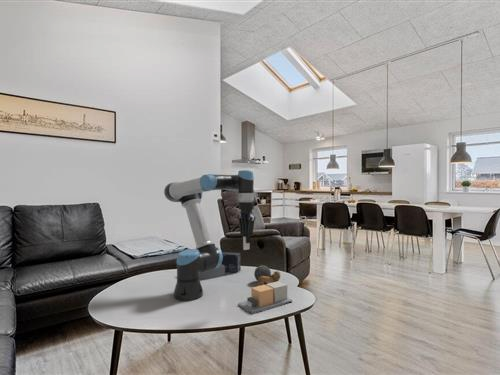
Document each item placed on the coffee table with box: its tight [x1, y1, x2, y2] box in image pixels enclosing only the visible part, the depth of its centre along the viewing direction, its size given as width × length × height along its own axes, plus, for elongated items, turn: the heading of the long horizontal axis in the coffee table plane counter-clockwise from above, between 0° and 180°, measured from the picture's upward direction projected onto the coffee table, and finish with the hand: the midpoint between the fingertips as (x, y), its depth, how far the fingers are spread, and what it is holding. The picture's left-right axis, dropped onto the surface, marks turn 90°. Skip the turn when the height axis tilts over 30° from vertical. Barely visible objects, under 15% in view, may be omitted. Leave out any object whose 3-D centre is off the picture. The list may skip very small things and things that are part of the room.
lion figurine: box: [255, 270, 281, 287], centre depth 166 cm, size 15×5×9 cm, turn 102°
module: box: [250, 284, 273, 307], centre depth 143 cm, size 7×8×7 cm
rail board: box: [237, 280, 293, 315], centre depth 144 cm, size 12×24×8 cm, turn 124°
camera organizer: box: [199, 265, 226, 281], centre depth 191 cm, size 16×22×6 cm
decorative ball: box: [254, 265, 272, 282], centre depth 176 cm, size 10×10×10 cm
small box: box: [221, 251, 242, 273], centre depth 201 cm, size 13×7×12 cm, turn 74°
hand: (246, 249), depth 145 cm, fingers closed
